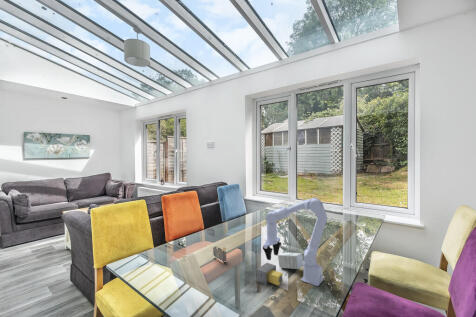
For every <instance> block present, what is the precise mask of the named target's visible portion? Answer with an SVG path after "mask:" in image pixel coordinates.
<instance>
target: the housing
mask: <svg viewBox="0 0 476 317" xmlns="http://www.w3.org/2000/svg"><path fill="white" fill-rule="evenodd" d="M272 270H275V271H277V265H276V264H272V263H269V262H266V263H264V264H262V265H261V266H260V267H258V268H256V282H257V283H259V284H262V285H265V286H268V285H269V284H271V283H270V282H269V275H268V273H269V272H271V271H272Z"/></svg>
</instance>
